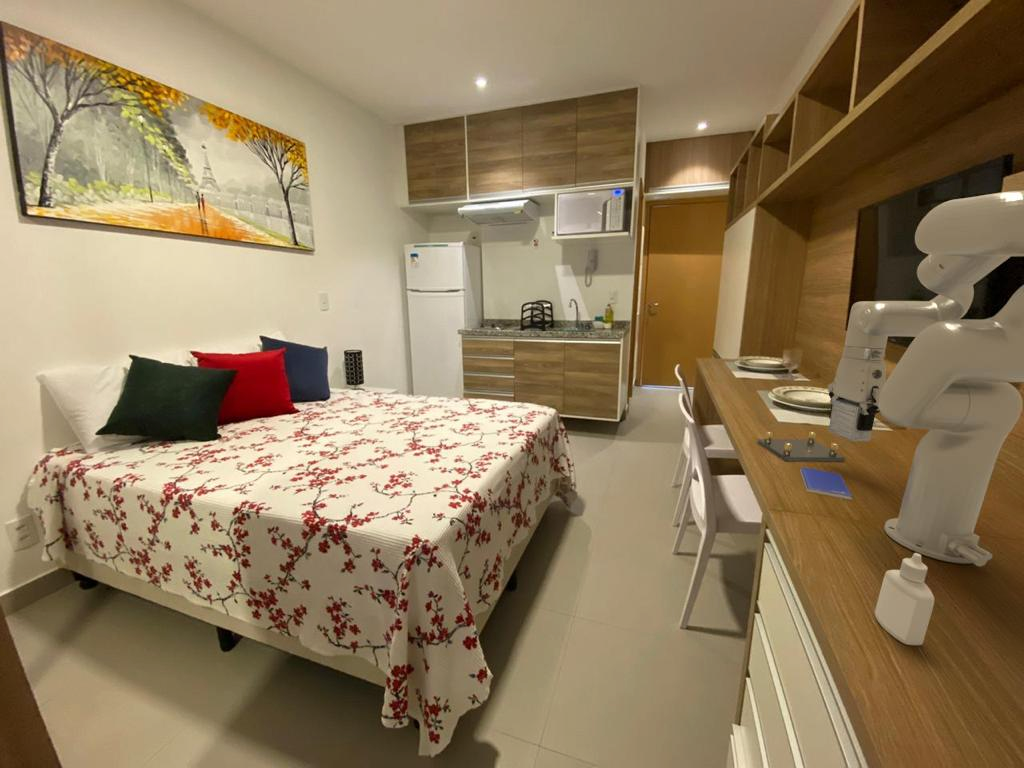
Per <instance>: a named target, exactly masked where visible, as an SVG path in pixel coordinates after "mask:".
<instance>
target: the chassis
mask: <svg viewBox="0 0 1024 768" xmlns="http://www.w3.org/2000/svg"><path fill="white" fill-rule="evenodd" d="M816 436H817V433H816V432H815V431H809V433H808V438H807V439H806V438H805V439H802V438H799V439H795V438H794V439H792V438H791V439H789V438H786V439H785V438H783V439H781V438H780V439H779V438H777V439H776V438H773V431H769V430H768V431H766V433H765V437H764V438H758V439H757V441H756V442H757V444H758V445H760V446H761V447H763V448H764V449H765V450H766V451H767V450H768V451H769V452H770V453H772V454H773V455H775V456H776V457H778V458H779V459H780V460H782V461H784V462H825V463H826V462H829V463H830V462H834V463H836V462H837V461H840V462H841V461H845V460H846V457H845V456H843V455H841V454H840V453H838V449H839V447H840V446H839V443H837V442H831V444H830V448H829V447H827V446H825V445H823V444H821V443H819V442H817V441H816ZM845 462H846V461H845ZM841 463H842V462H841Z"/></svg>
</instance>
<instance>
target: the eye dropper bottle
mask: <svg viewBox="0 0 1024 768" xmlns="http://www.w3.org/2000/svg"><path fill="white" fill-rule="evenodd" d="M928 569H929V568H928V566H927V565H926V564H925V563H923V561H922V554H920V553H918V552H914V553H913V554H912V556H911V557H905V558H903V559H902V562H901V565H900V569H889V570H886V571H885V573H884V575H883V580H882V584H881V588H880V591H879V595H878V597H877V602H876V607H875V610H874V616H875V619H876V621H878V623H879V625H880V626H881V627H882V628H883V629H884V630H885V631H886V632H887V633H888V634H889V635H890V636H892V637H894V639H896V640H898V641H899V642H900V643H903V644H904V645H907V646H922V645H923V643H924V640H925V637H926V633H927V629H928V626H929V623H930V619H931V616H932V613H933V609H934V606H935V596H934V594H933V592H932V590H931V588H930V587H929V586H928V585H927V584H926V583H925V580H926V576H927V573H928Z"/></svg>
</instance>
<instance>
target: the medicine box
mask: <svg viewBox="0 0 1024 768" xmlns="http://www.w3.org/2000/svg"><path fill="white" fill-rule="evenodd" d="M867 408H870V406H869V405H867ZM860 414H863V413H862V410H861V407H860V404H859V403H856V402H853V401H850V400H834V401H833V406H832V413H831V419H830V420H829V425H828V433H830V434H833V435H836V436H839V437H842V438H843V439H846V440H848V441H851V442H855V443H856V442H858V443H859V442H861V443H863V442H865V443H870V442H871V440H872V432H873V429H872V430H871V431H859V430H857V424H858V419H859V415H860Z"/></svg>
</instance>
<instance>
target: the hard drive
mask: <svg viewBox="0 0 1024 768" xmlns="http://www.w3.org/2000/svg"><path fill="white" fill-rule="evenodd" d="M799 471H800V475H801V477H802V480H803V483H804V486H805V489H806V491H807V492H808V493H813V494H819V495H825V496H830V497H834V498H839V499H843V498H844V500H849V499H850V501H853V496H852V493H851V492H850V490H849V488H848V486H847V485H846V483H845V481H844V479H843V478H842V476H841V474H840V473H837V472H832V471H825V470H820V469H814V468H808V467H801V468H800V470H799Z"/></svg>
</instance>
